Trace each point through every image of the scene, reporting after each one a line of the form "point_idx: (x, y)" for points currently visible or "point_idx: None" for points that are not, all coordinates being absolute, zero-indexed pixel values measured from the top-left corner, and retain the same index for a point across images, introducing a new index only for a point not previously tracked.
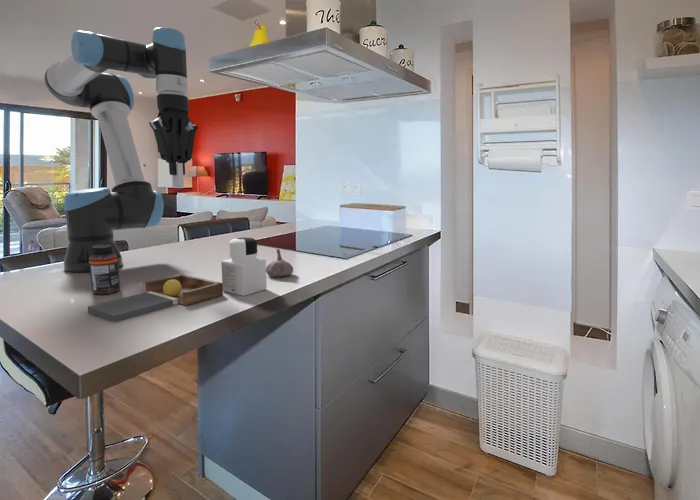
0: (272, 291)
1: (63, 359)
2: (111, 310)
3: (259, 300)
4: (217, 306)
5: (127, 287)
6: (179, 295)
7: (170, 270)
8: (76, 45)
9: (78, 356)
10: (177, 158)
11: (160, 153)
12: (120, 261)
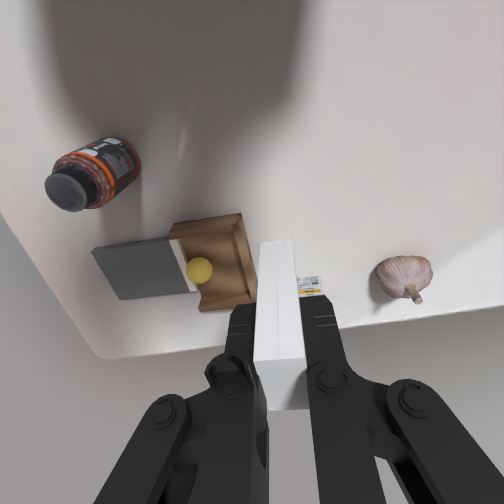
0: None
1: (85, 339)
2: (118, 282)
3: None
4: None
5: (155, 154)
6: (211, 264)
7: (283, 47)
8: None
9: (95, 340)
10: (314, 413)
11: (123, 464)
12: None
